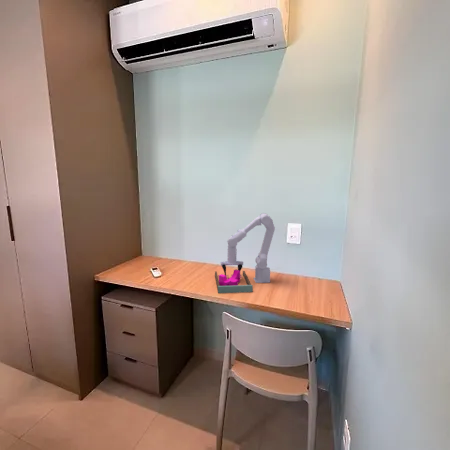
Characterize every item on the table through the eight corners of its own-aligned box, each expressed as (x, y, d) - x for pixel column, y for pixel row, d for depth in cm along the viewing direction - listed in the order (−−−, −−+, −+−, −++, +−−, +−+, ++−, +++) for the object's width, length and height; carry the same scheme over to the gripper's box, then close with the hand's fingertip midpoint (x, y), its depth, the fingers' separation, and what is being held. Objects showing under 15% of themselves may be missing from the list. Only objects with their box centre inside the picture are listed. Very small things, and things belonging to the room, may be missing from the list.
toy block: (225, 289, 162) (225, 278, 161) (218, 286, 167) (218, 275, 165) (242, 283, 172) (243, 271, 171) (236, 280, 177) (236, 269, 175)
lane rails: (244, 274, 187) (244, 270, 186) (252, 291, 161) (252, 286, 160) (214, 275, 185) (214, 271, 184) (217, 292, 159) (218, 287, 158)
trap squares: (241, 274, 187) (241, 274, 187) (242, 278, 181) (242, 277, 181) (218, 275, 185) (218, 275, 185) (218, 278, 179) (218, 278, 179)
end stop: (252, 291, 161) (252, 284, 160) (252, 292, 160) (252, 285, 159) (217, 292, 159) (218, 285, 158) (218, 293, 158) (218, 286, 157)
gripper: (242, 253, 178) (241, 273, 181) (220, 254, 177) (220, 273, 179) (244, 256, 171) (243, 277, 174) (221, 257, 170) (221, 277, 172)
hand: (231, 275), depth 176 cm, fingers open, 7 cm apart
